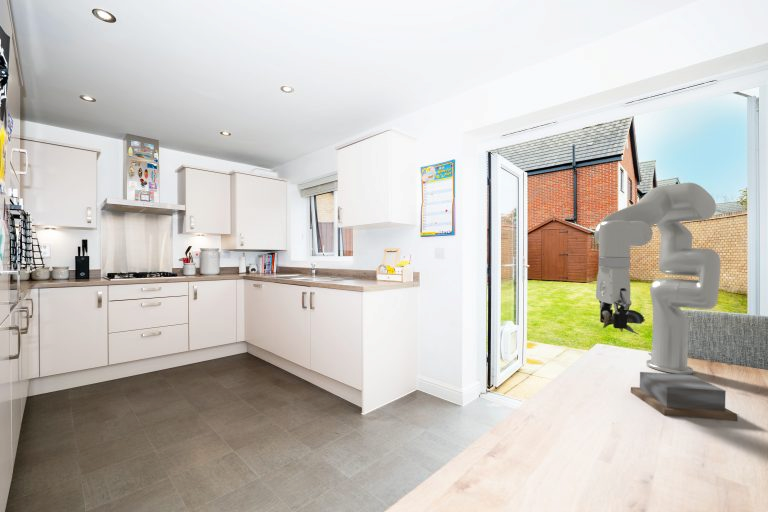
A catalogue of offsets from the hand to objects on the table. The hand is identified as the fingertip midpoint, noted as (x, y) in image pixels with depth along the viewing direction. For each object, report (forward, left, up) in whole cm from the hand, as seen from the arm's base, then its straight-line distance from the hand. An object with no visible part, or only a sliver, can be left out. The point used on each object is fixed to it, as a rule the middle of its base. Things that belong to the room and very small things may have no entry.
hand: (612, 324), depth 97 cm
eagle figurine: (+1, +1, -2) cm, 2 cm away
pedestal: (+7, +13, -19) cm, 24 cm away
